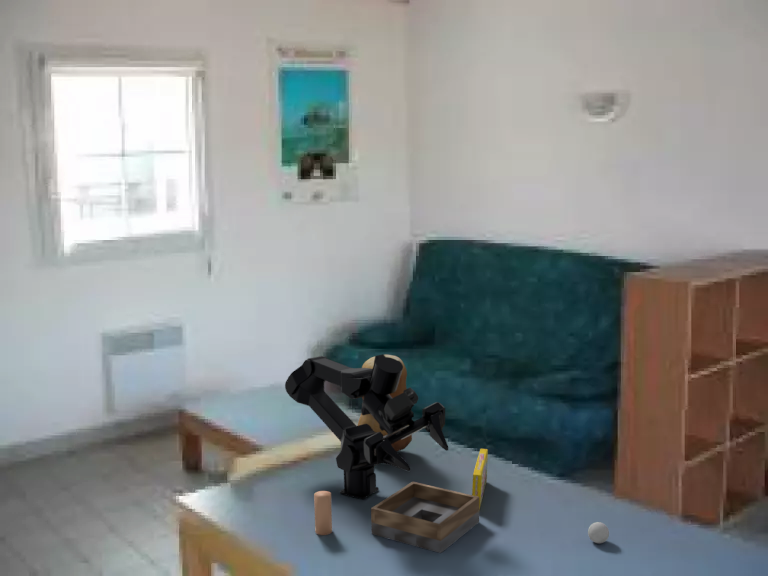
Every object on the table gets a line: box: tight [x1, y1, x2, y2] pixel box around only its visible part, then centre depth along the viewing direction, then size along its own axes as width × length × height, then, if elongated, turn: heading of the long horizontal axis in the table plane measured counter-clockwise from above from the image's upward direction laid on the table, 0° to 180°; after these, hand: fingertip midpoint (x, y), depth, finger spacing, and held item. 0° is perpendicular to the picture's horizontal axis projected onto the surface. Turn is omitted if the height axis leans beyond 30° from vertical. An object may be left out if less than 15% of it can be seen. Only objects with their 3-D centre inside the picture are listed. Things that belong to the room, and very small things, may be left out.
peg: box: [313, 490, 333, 536], centre depth 184 cm, size 3×3×8 cm
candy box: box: [471, 448, 489, 511], centre depth 200 cm, size 16×2×8 cm, turn 168°
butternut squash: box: [357, 354, 413, 452], centre depth 225 cm, size 14×13×25 cm
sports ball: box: [587, 521, 610, 544], centre depth 178 cm, size 4×4×4 cm
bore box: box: [370, 481, 480, 554], centre depth 185 cm, size 16×16×6 cm
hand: (428, 459), depth 181 cm, fingers open, 9 cm apart
